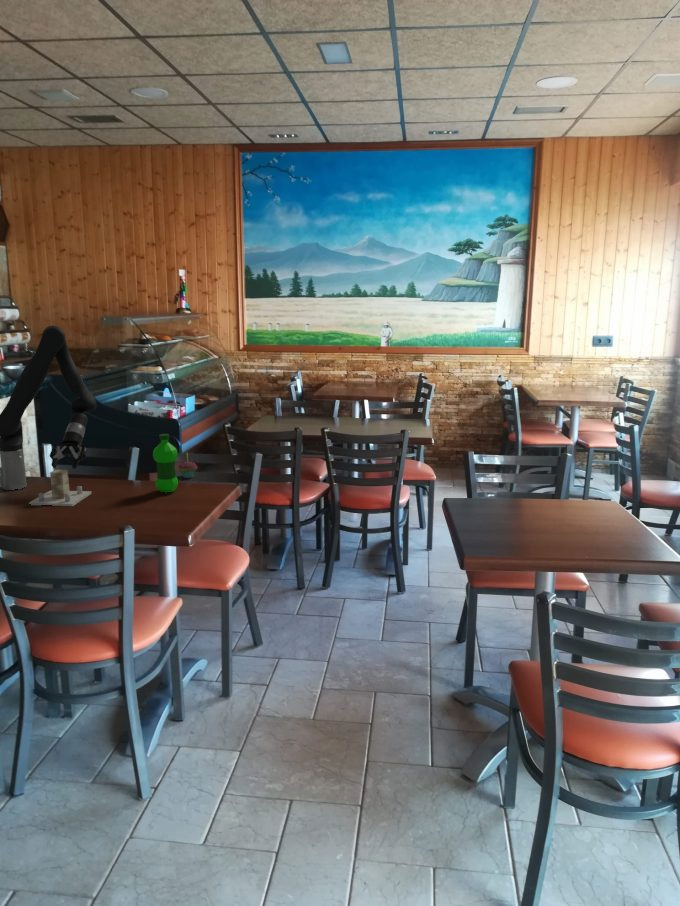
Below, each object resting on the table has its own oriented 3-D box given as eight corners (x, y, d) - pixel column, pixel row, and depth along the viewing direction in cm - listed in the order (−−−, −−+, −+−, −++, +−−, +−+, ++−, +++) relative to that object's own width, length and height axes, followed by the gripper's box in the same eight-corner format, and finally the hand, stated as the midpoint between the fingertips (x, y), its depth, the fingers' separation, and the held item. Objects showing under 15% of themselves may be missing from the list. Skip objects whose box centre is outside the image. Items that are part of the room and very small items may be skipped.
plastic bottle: (159, 487, 299) (156, 432, 294) (182, 488, 298) (180, 432, 293) (151, 494, 290) (147, 436, 284) (175, 495, 289) (172, 437, 283)
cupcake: (178, 475, 321) (177, 450, 318) (196, 473, 324) (195, 449, 321) (179, 479, 313) (178, 454, 310) (198, 478, 316) (197, 453, 313)
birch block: (52, 498, 280) (50, 472, 277) (58, 495, 285) (55, 469, 282) (64, 498, 279) (62, 472, 277) (69, 495, 284) (67, 469, 282)
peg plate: (29, 505, 274) (28, 495, 273) (50, 492, 292) (49, 483, 291) (72, 506, 273) (71, 496, 272) (91, 493, 290) (90, 484, 289)
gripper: (54, 430, 290) (43, 462, 281) (87, 431, 289) (76, 463, 280) (61, 439, 296) (50, 471, 288) (93, 440, 295) (83, 472, 287)
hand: (63, 467), depth 284 cm, fingers open, 8 cm apart
